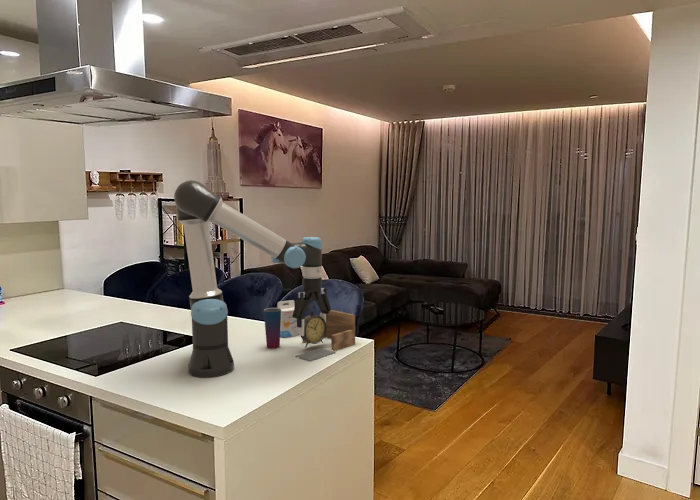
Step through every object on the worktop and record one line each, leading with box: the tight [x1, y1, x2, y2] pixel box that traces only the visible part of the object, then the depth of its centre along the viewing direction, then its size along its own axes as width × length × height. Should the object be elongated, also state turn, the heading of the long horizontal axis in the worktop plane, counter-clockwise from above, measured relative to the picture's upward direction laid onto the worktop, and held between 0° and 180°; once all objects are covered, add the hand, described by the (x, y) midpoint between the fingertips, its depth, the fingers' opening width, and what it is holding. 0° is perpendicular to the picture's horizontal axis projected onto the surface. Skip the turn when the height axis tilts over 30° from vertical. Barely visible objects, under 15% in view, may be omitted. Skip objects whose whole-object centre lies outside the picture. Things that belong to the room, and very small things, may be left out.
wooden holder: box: [302, 309, 356, 352], centre depth 198 cm, size 12×18×12 cm
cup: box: [263, 307, 281, 350], centre depth 193 cm, size 7×7×15 cm
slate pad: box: [294, 347, 336, 362], centre depth 184 cm, size 13×8×1 cm, turn 138°
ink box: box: [277, 299, 299, 339], centre depth 210 cm, size 8×5×15 cm, turn 124°
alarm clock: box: [300, 304, 327, 349], centre depth 191 cm, size 11×5×16 cm, turn 133°
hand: (312, 332), depth 192 cm, fingers closed on alarm clock, 11 cm apart
